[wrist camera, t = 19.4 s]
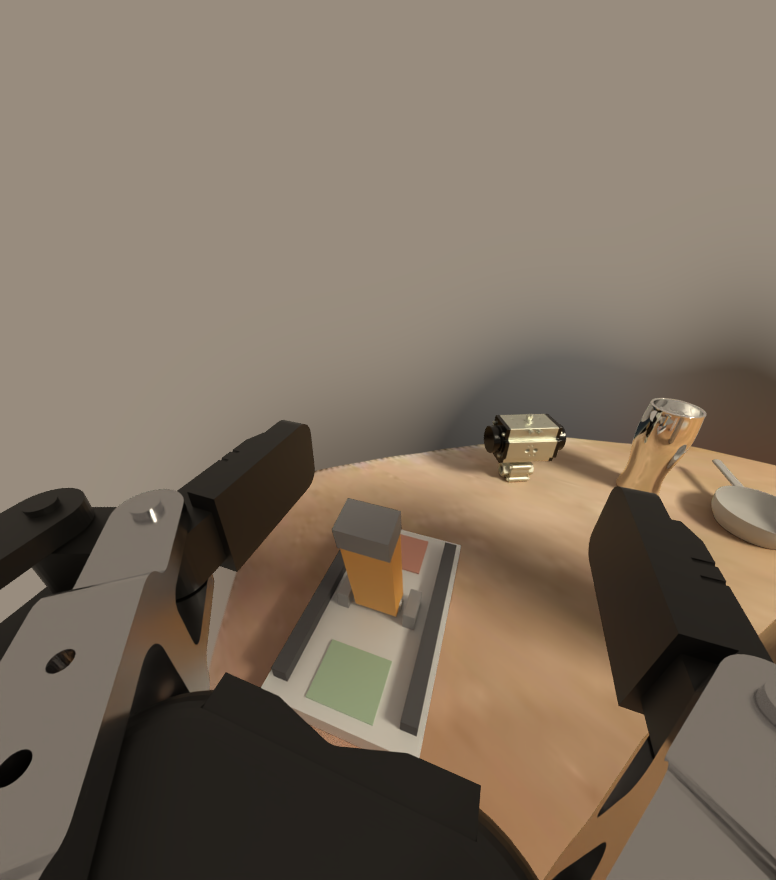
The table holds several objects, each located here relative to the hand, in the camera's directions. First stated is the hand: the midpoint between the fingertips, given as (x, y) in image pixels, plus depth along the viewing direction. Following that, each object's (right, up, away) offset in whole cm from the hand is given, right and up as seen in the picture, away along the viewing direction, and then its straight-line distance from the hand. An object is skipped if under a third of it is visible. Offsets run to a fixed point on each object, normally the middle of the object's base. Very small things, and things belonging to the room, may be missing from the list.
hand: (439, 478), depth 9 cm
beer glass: (+40, -7, +48) cm, 63 cm away
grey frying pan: (+53, -10, +44) cm, 69 cm away
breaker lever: (-2, -16, +26) cm, 31 cm away
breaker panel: (-2, -18, +28) cm, 33 cm away
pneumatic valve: (+20, -6, +50) cm, 54 cm away
